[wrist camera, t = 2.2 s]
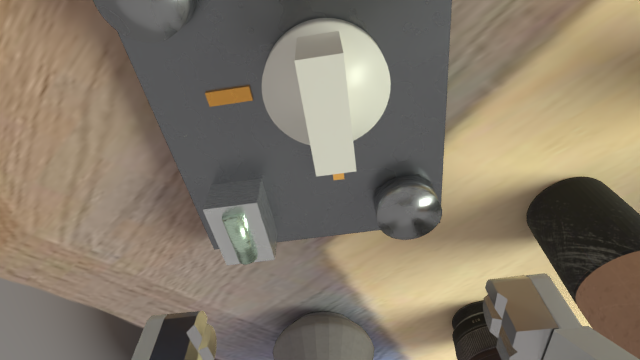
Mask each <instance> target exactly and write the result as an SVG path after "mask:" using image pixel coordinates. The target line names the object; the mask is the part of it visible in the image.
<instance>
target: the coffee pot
mask: <svg viewBox="0 0 640 360" xmlns="http://www.w3.org/2000/svg"><path fill="white" fill-rule="evenodd" d="M273 356H274V360H373V356H374V346H373V344H372V341H371V339H370V337H369V336H368V334H367V333H366V332H365V331H364V330H363V329H362V328H361V327H360V326H359V325H357V324H356V323H354V322H352V321H351V320H350V319H348V318H347V317H345V316H343V315H340V314H337V313H331V312H316V313H311V314H308V315H305V316H303V317H301V318H299V319H298V320H296V321H295V322H294V323H293V324H291V325H290V326H288V327H287V328H286V329H285V330H284V331H283V332H282V333H281V334H280V336H279V337H278V339H277V341H276V343H275V346H274V349H273Z"/></svg>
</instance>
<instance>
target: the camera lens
mask: <svg viewBox="0 0 640 360" xmlns="http://www.w3.org/2000/svg"><path fill="white" fill-rule="evenodd" d="M452 325H453V329H454V332H453V341H454V345H455V351H456V356H457V359H458V360H502V359H501V357H500V355H499V352H498V350H497V348H496V346H497V341H498V338H497V337H496V336H495V335H493V334H492V333H491V332H490V331H489V329H488V326H487V324H486V320H485V317H484V311H483V301H481V302H476V303H472V304H469V305H467V306H465V307H463V308H462V309H460V310H459V311H458V312H457V313H456V314H455V315H454V317H453V320H452Z"/></svg>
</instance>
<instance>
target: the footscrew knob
mask: <svg viewBox="0 0 640 360" xmlns="http://www.w3.org/2000/svg"><path fill="white" fill-rule="evenodd" d="M390 85H391V81H390V73H389V69H388V66H387V63H386V61H385V59H384V56H383V54H382V52H381V50H380V49H379V47H378V45H377V43H376V42H375V41H374V40H373V38H372V37H371V36H370V35H369V34H368V33H366V32H365V31H364V30H363V29H361V28H360V27H358V26H356V25H354V24H352V23H350V22H347V21H344V20H341V19H335V18H317V19H312V20H308V21H305V22H303V23H300V24H298V25H296V26H294V27H293V28H291V29H290V30H288V31H287V32H286V33H284V34H283V35H282V36H281V37H280V38H279V40H278V41H277V42H276V43H275V45H274V46H273V48H272V50H271V52H270V53H269V56H268V59H267V61H266V65H265V68H264V72H263V76H262V96H263V101H264V104H265V108H266V110H267V112H268V114H269V116H270V117H271V119H272V121H273V122H274V123H275V124H276V125H277V127H278V128H279V129H280V130H281V131H283V132H284V133H285V134H286V135H288V136H289V137H291V138H293V139H294V140H296V141H299V142H301V143H304V144H307V145H310V146H311V151H312V157H313V162H314V167H315V173H316V177H317V176H325V175H333V179H334V180H341V179H344V173H348V172H356V162H355V153H354V144H353V141H354V140H356V139H358V138H359V137H361V136H363V135H364V134H365V133H367V132H368V131H369V130H370V129H371V128H372V127H373V126H374V125H375V124H376V123H377V122H378V120H379V119H380V118H381V116H382V114H383V113H384V111H385V108H386V106H387V103H388V100H389V95H390Z"/></svg>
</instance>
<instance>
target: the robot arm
mask: <svg viewBox="0 0 640 360" xmlns="http://www.w3.org/2000/svg"><path fill="white" fill-rule="evenodd" d="M486 291H487V293H488V295H487V296H486V297H485V298H484V300H483V311H484V317H485V320H486V324H487V326H488V329H489V331H490V332H491V333H492V334H493V335H495V336H496V337H497V338H498V341H497V346H496V348H497V350H498V352H499V355H500V357H501V359H502V360H640V359H638V358H637V357H635V356H634V355H632V354H630V353H629V352H627V351H626V350H624V349H623V348H621V347H620V346H618V345H617V344H615V343H613V342H612V341H610V340H609V339H607V338H606V337H604V336H603V335H601V334H600V333H598V332H597V331H595V330H593V329H592V328H590V327H589V326H582V325H581V324H580V322H579V321H578V319H577V318H576V316H575V315H574V313H573V312H572V310H571V309H570V307H569V306H568V304H567V303H566V301H565V300H564V298H563V297H562V295H561V293H560V292H559V290H558V289H557V287H556V286H555V284H554V283H553V281H552V280H551V278H550V277H549V276H548V275H547V274H535V275H527V276H524V275H522V276H514V277H506V278H498V279H490V280H488V281H487V282H486ZM206 322H207V316H206V314H205V313H204V311H197V312H186V313H175V314H163V315H153V316H151V317H150V318H149V319H148V320H147V322H146V325H145V327H144V330H143V332H142V334H141V337H140V339H139V342H138V345H137V347H136V349H135V352H134V354H133V357H132V359H131V360H214V358H215V353H216V334H215V331H214V329H213V327H212V326H210V325H209V324H207V323H206Z"/></svg>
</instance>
